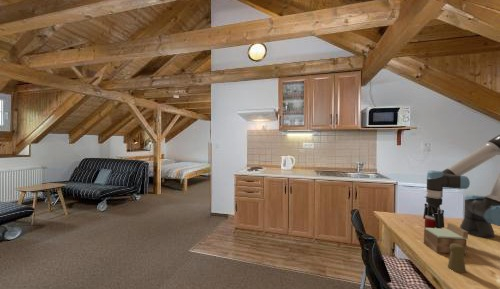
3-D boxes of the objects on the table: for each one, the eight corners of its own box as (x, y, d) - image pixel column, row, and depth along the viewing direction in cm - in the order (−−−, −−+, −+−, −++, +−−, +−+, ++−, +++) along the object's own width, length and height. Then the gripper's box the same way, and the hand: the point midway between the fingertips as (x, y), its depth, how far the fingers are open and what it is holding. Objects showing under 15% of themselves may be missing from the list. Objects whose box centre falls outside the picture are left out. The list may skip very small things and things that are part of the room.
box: (449, 245, 126) (450, 231, 126) (465, 255, 115) (466, 239, 115) (423, 243, 127) (424, 229, 127) (437, 253, 117) (437, 238, 116)
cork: (446, 269, 102) (447, 244, 102) (448, 264, 107) (449, 240, 106) (465, 275, 98) (466, 249, 98) (466, 269, 102) (467, 244, 102)
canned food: (444, 238, 134) (445, 219, 133) (428, 237, 135) (429, 218, 135) (436, 233, 141) (437, 215, 141) (421, 232, 143) (422, 214, 143)
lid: (451, 230, 125) (451, 223, 125) (467, 239, 115) (467, 231, 114) (425, 229, 127) (425, 222, 127) (438, 237, 116) (439, 230, 116)
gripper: (417, 192, 148) (415, 227, 149) (439, 201, 128) (437, 242, 129) (430, 193, 147) (428, 228, 148) (454, 202, 127) (452, 243, 128)
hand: (432, 234), depth 138 cm, fingers closed on canned food, 8 cm apart
